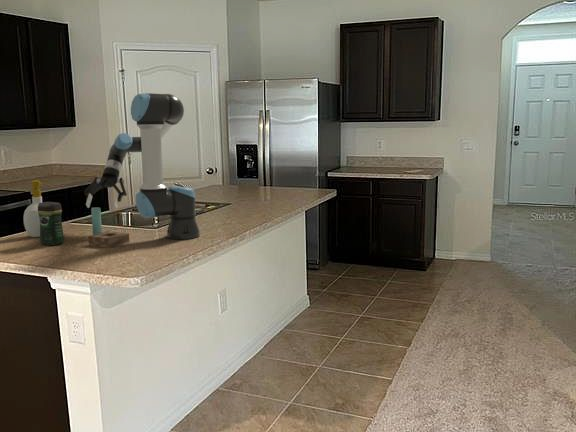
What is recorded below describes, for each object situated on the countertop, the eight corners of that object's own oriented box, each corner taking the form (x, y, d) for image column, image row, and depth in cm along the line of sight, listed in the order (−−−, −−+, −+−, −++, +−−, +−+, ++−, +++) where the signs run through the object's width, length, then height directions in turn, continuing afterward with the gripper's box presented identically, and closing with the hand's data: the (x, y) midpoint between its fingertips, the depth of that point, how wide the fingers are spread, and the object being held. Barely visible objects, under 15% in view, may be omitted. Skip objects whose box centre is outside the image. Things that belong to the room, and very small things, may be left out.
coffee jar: (67, 242, 249) (64, 201, 246) (54, 246, 242) (50, 203, 239) (50, 241, 253) (47, 200, 250) (37, 244, 245) (33, 202, 242)
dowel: (104, 237, 260) (102, 207, 257) (98, 239, 256) (96, 208, 254) (97, 236, 261) (95, 207, 259) (91, 238, 258) (89, 208, 255)
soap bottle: (32, 239, 255) (27, 182, 251) (20, 237, 260) (15, 181, 256) (60, 234, 267) (56, 179, 262) (48, 232, 272) (44, 178, 267)
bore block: (129, 242, 250) (128, 233, 249) (110, 247, 239) (110, 238, 239) (108, 239, 255) (107, 231, 254) (88, 245, 244) (88, 236, 243)
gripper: (138, 176, 278) (129, 211, 266) (89, 175, 280) (78, 210, 268) (134, 166, 272) (124, 202, 260) (84, 166, 274) (72, 201, 262)
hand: (101, 206), depth 264 cm, fingers open, 13 cm apart
